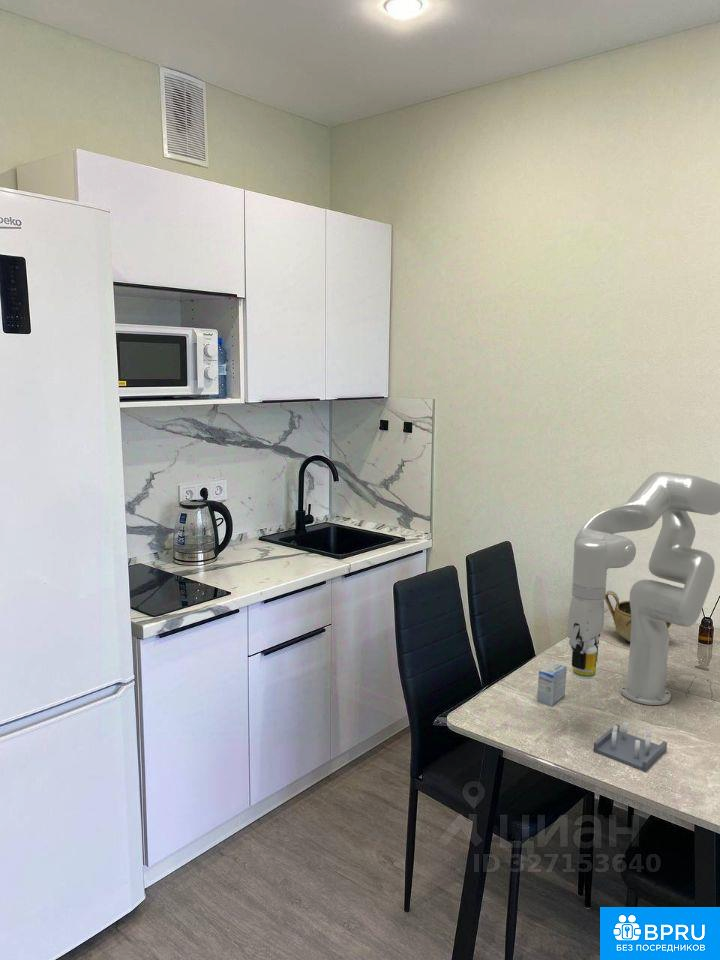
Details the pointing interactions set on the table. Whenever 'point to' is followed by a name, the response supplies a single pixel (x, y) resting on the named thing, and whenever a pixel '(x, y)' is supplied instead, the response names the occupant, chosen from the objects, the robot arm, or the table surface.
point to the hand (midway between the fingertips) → (584, 663)
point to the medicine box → (551, 683)
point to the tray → (629, 748)
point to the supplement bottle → (587, 661)
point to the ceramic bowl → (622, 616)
